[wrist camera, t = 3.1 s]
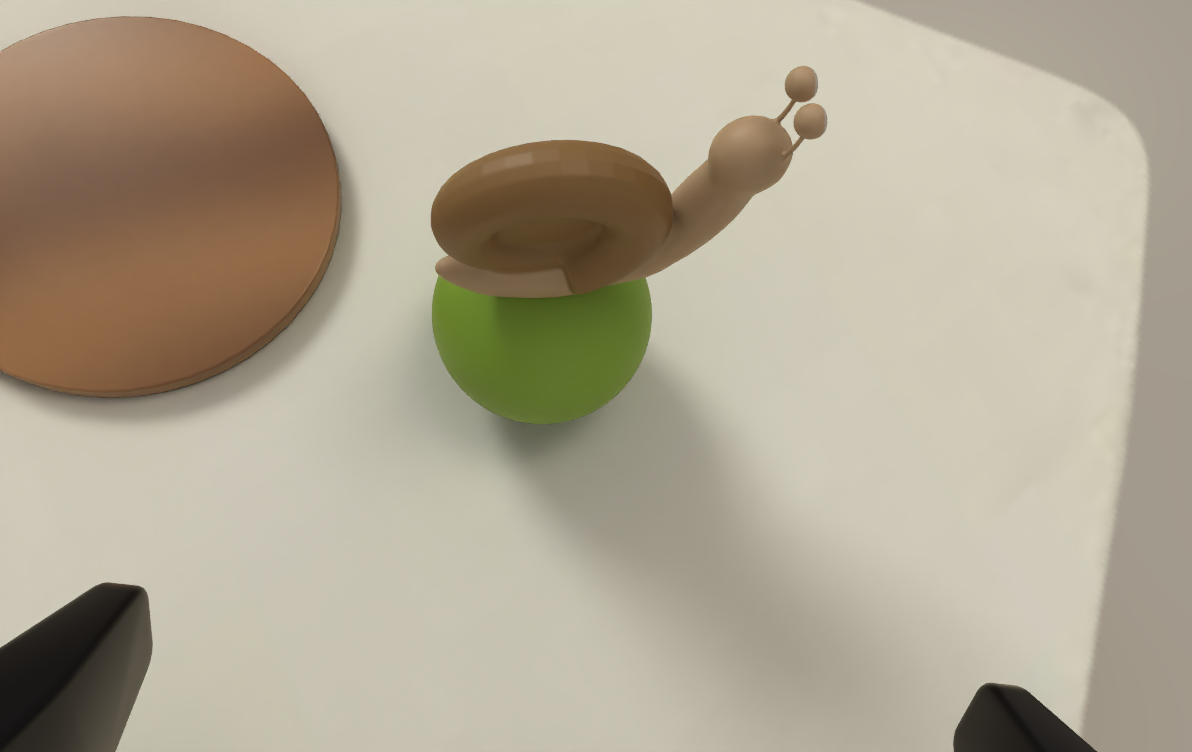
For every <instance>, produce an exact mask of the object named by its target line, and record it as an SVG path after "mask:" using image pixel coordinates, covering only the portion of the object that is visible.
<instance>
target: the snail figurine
mask: <svg viewBox="0 0 1192 752" xmlns="http://www.w3.org/2000/svg"><path fill="white" fill-rule="evenodd" d="M817 89H818V79H817V75H816V73H815V72H814V70H813V69H811V68H810V67H807V66H801V67H797V68H795V69H793V70H792V71H791V72H790V73H789V74H788V76H787V78H786V81H785V90H786V93H787V95H788V96H789V97H790V98H791V99H792V100H791V102H790V103H789V105H788V106H787V107H786V109H785V110H784V111H783V112H782V113H781V114H780V115H779V116H778V117H777V118H776V119H769V118H766V117H762V116H746V117H742V118H739V119H736V120H734V121H732V122H731V123H729V124H727V125H726V126H725V127H724V128H722V129H721V130H720V131H719V133H718V134H717V135H716V136H715V138H714V140H713V142H712V144H711V146H710V150H709V155H708V160H706V161H705V162H704V163H703V164H702V165H701V166H700V167H699V168H698V169H697V170H695V171H694V172H693V173H692V174H691V175H690V176H689V177H688V178H687V179H686V180H685V181H684V182H683V183H682V184H681V185H680V186H679V187H678V188H677V189H676V190H675V191H674V192H673V193H672V195H671V193H670V191H669V188H668V186H667V184H666V182H665V181H664V179H663V178H662V176H661V174H660V173H659V172H658V171H657V170H656V169H655V168H654V167H652V166H651V165H650V164H649V163H647V162H646V161H645V160H644V159H642V158H641V157H639V156H638V155H636V154H634V153H631V152H629V151H627V150H624V149H622V148H619V147H615V146H611V145H607V144H603V143H597V142H588V141H579V140H551V141H542V142H533V143H527V144H523V145H518V146H513V147H509V148H506V149H503V150H500V151H497V152H494V153H491V154H488V155H486V156H484V157H482V158H480V159H478V160H476V161H473V162H471V163H469V164H468V165H466V166H465V167H463V168H462V169H460V170H459V171H457V172H456V173H455V174H453V175H452V176H451V177H450V178H449V179H448V181H447V182H446V183H445V184H444V185H443V186H442V187H441V189H440V191H439V192H438V194H437V196H436V198H435V200H434V202H433V205H432V211H431V227H432V231H433V234H434V236H435V238H436V240H437V242H438V244H439V246H440V247H441V248H442V249H443V250H444V251H445V252H446V253H447V254H448V255H449V256H446V257H444V258H442V259H441V260H439V261H438V262H437V264H436V266H435V269H436V272H437V273H438V275H439V276H438V279H437V282H436V286H435V290H434V295H433V303H432V325H433V332H434V337H435V341H436V345H437V348H438V351H439V354H440V356H441V358H442V361H443V363H444V365H445V366H446V368H447V370H448V372H449V373H450V375H451V376H452V378H453V379H454V380H455V382H456V383H457V384H458V385H459V386H460V388H461V389H462V390H463V391H464V392H465V393H466V394H467V395H468V396H470V397H471V398H472V399H473V400H474V401H476V402H477V403H478V404H480V405H481V406H483V407H484V408H486V409H488V410H490V411H491V412H493V413H495V414H498V415H500V416H503V417H505V418H508V419H511V420H515V421H519V422H524V423H532V424H552V423H560V422H565V421H570V420H573V419H576V418H579V417H582V416H585V415H587V414H589V413H591V412H593V411H595V410H597V409H598V408H600V407H602V406H603V405H605V404H606V403H607V402H609V401H610V400H611V399H613V398H614V397H615V396H616V395H617V394H618V393H619V392H620V391H621V390H622V389H623V388H624V387H625V386H626V384H627V383H628V382H629V381H630V379H631V378H632V377H633V375H634V373H635V372H636V370H637V368H638V367H639V365H640V363H641V361H642V359H643V356H644V354H645V351H646V348H647V345H648V341H649V336H650V331H651V322H652V308H651V298H650V293H649V288H648V284H647V281H646V278H645V277H648V276H650V275H653V274H655V273H657V272H659V271H662V270H663V269H665V268H667V267H669V266H670V265H672V264H673V263H675V262H677V261H679V260H681V259H682V258H684V257H686V256H687V255H689V254H691V253H692V252H694V251H695V250H696V249H698V248H699V247H701V246H702V245H704V244H705V243H707V242H708V241H709V240H711V239H712V238H713V237H714V236H716V235H717V234H718V233H719V232H720V231H722V230H723V229H724V228H725V227H726V226H727V225H728V224H729V223H730V222H731V221H732V220H733V219H734V218H735V217H736V216H737V215H738V214H739V213H740V212H741V210H742V209H743V208H744V207H745V205H746V204H747V203H748V201H749V200H750V199H751V198H752V197H753V196H754V195H755V194H757V193H759V192H761V191H763V190H765V189H767V188H769V187H771V186H772V185H774V184H775V183H777V182H778V181H779V180H780V179H781V178H782V176H783V175H784V173H785V172H786V170H787V168H788V166H789V164H790V162H791V159H792V155H793V152H794V151H795V150H796V148H797V147H798V146H799V145H800V144H801V142H802V141H803V140H804V138H805V139H816V138H818V137H820V136H821V135H822V134H823V133H824V132H825V130H826V127H827V115H826V112H825V110H824V109H823V107H821V106H820V105H818V104H814V103H812V104H807V105H804V106H803V107H801V108H800V109H799V110H798V111H797V113H796V115H795V117H794V128H795V131H796V132H797V134H798V135H799V136H800V138H799V139H798V140H797V142H796V143H795V144H794V145H793V146H792V141H791V138H790V136H789V134H788V133H787V131H786V130H785V129H784V128H783V127H782V126H781V124H780V122H781V121H782V120H783V119H784V117H785V116H786V115H787V114H788V112H789V111H790V110H791V108H792V107H793V105H794V104H795V102H806V101H809V100H810V99H812V98H813V97H814V96H815V94H816V92H817Z"/></svg>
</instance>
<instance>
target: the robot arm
mask: <svg viewBox="0 0 1192 752" xmlns="http://www.w3.org/2000/svg"><path fill="white" fill-rule="evenodd" d="M152 646H153V645H152V632H151V621H150V611H149V600H148V595H147V592H146V591H145V589H144V588H142V587H140V586H135V585H126V584H117V583H102V584H99V585H96V586H95V587H93V588H91V589H90V590H88V591H87V592H85V593H84V594H82V595H81V596H79V597H77V598H76V599H74V600H73V601H71V602H70V603H68V604H67V605H65V606H64V607H62V608H61V609H59V610H57V611H56V612H54V613H53V614H51V615H50V616H48V617H47V618H45V619H44V620H42V621H41V622H39V623H37V624H36V625H34V626H33V627H31V628H30V629H28V630H27V631H25V632H24V633H22V634H21V635H19V636H18V637H16V638H14V639H13V640H11V641H10V642H8V643H7V644H5V645H4V646H2V647H1V648H0V752H115V751H116V749H117V746H118V744H119V741H120V739H121V736H122V734H123V731H124V728H125V726H126V723H127V721H128V718H129V716H130V713H131V710H132V708H133V705H134V703H135V700H136V698H137V695H138V693H139V690H140V687H141V685H142V682H143V680H144V677H145V675H146V672H147V669H148V667H149V663H150V660H151V655H152ZM953 745H954V752H1097V751H1095V750H1094V749H1093V748H1092V747H1091V746H1090V745H1089V744H1087V743H1086V742H1085V741H1084V740H1083V739H1082V738H1081V737H1080V736H1078V735H1077V734H1076V733H1075V732H1074V731H1073V730H1072V729H1070V728H1069V727H1068V726H1067V725H1066V724H1065V723H1064V722H1062V721H1061V720H1060V719H1059V718H1058V717H1057V716H1056V715H1054V714H1053V713H1052V712H1051V711H1050V710H1049V709H1048V708H1046V707H1045V706H1044V705H1043V704H1042V703H1041V702H1040V701H1038V700H1037V699H1036V698H1035V697H1034V696H1033V695H1031V694H1030V693H1029V692H1028V691H1027V690H1025V689H1023V688H1022V687H1019V686H1014V685H1005V684H997V683H986V684H984V685H983V686H981V687H980V688H979V689H978V691H977V692H976V694H975V696H974V698H973V700H972V701H971V703H970V705H969V707H968V708H967V710H966V712H965V714H964V715H963V717H962V719H961V721H960V722H959V724H958V726H957V728H956V730H955V735H954V742H953Z"/></svg>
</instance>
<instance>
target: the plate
mask: <svg viewBox="0 0 1192 752" xmlns="http://www.w3.org/2000/svg"><path fill="white" fill-rule="evenodd" d="M340 218H341V183H340V176H339V170H338V164H337V161H336V157H335V154H334V151H333V148H332V145H331V142H330V138H329V135H328V133H327V131H326V129H325V127H324V125H323V123H322V121H321V119H320V117H319V115H318V113H317V111H316V110H315V108H314V107H313V105H312V104H311V102H310V101H309V99H308V98H307V97H306V95H305V94H304V93H303V92H302V90H301V89H300V88H299V87H298V86H297V85H296V84H295V83H294V82H293V80H292V79H291V78H290V77H289V76H288V75H287V74H285V73H284V72H283V71H282V70H281V69H280V68H278V67H277V66H276V65H275V64H274V63H273V62H271V61H270V60H269V59H267V58H266V57H264V56H263V55H261V54H260V53H258V52H257V51H255V50H254V49H252V48H250V47H249V46H247V45H245V44H243V43H241V42H239V41H237V40H235V39H233V38H231V37H229V36H227V35H224V34H221V33H219V32H216V31H213V30H210V29H208V28H205V27H202V26H198V25H194V24H189V23H185V22H181V21H177V20H169V19H161V18H154V17H124V16H123V17H111V18H99V19H92V20H86V21H81V22H76V23H71V24H66V25H63V26H60V27H56V28H53V29H50V30H46V31H43V32H40V33H38V34H36V35H33V36H31V37H29V38H26V39H24V40H21V41H19V42H17V43H15V44H13V45H11V46H9V47H8V48H6V49H4V50H2V51H0V371H3V372H5V373H7V374H9V375H11V376H13V377H15V378H17V379H19V380H21V381H24V382H27V383H30V384H33V385H36V386H39V387H42V388H45V389H48V390H53V391H58V392H63V393H68V394H73V395H81V396H94V397H128V396H141V395H147V394H153V393H159V392H165V391H169V390H173V389H176V388H180V387H183V386H187V385H191V384H194V383H197V382H199V381H202V380H204V379H207V378H209V377H211V376H214V375H216V374H219V373H221V372H223V371H225V370H227V369H229V368H230V367H232V366H234V365H236V364H238V363H239V362H241V361H243V360H245V359H246V358H248V357H250V356H251V355H252V354H254V353H255V352H256V351H258V350H259V349H261V348H262V347H263V346H265V345H266V344H267V343H269V342H270V341H271V340H272V339H273V338H275V337H276V336H277V335H278V334H279V333H280V332H281V331H282V330H283V329H284V328H285V327H286V326H287V325H288V324H289V323H291V321H292V320H293V319H294V318H295V317H296V315H297V314H298V313H299V312H300V311H301V309H302V308H303V307H304V306H305V304H306V303H307V302H308V301H309V299H310V297H311V296H312V294H313V293H314V291H315V289H316V288H317V286H318V285H319V283H320V281H321V280H322V277H323V275H324V273H325V271H326V269H327V266H328V264H329V262H330V260H331V257H332V254H333V251H334V247H335V244H336V240H337V237H338V232H339V225H340Z"/></svg>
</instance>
